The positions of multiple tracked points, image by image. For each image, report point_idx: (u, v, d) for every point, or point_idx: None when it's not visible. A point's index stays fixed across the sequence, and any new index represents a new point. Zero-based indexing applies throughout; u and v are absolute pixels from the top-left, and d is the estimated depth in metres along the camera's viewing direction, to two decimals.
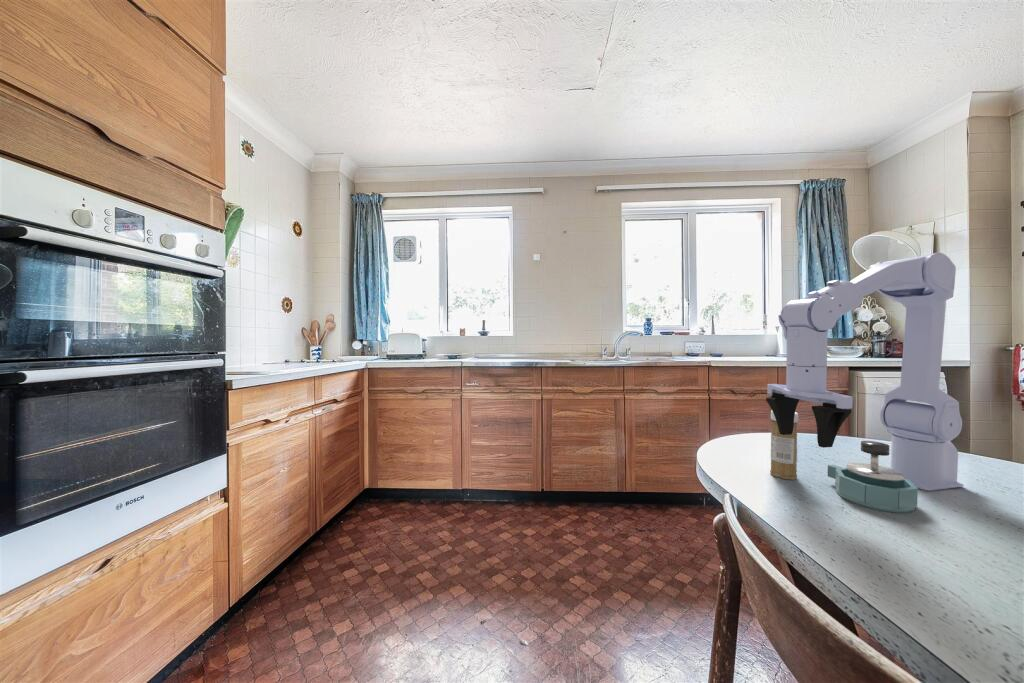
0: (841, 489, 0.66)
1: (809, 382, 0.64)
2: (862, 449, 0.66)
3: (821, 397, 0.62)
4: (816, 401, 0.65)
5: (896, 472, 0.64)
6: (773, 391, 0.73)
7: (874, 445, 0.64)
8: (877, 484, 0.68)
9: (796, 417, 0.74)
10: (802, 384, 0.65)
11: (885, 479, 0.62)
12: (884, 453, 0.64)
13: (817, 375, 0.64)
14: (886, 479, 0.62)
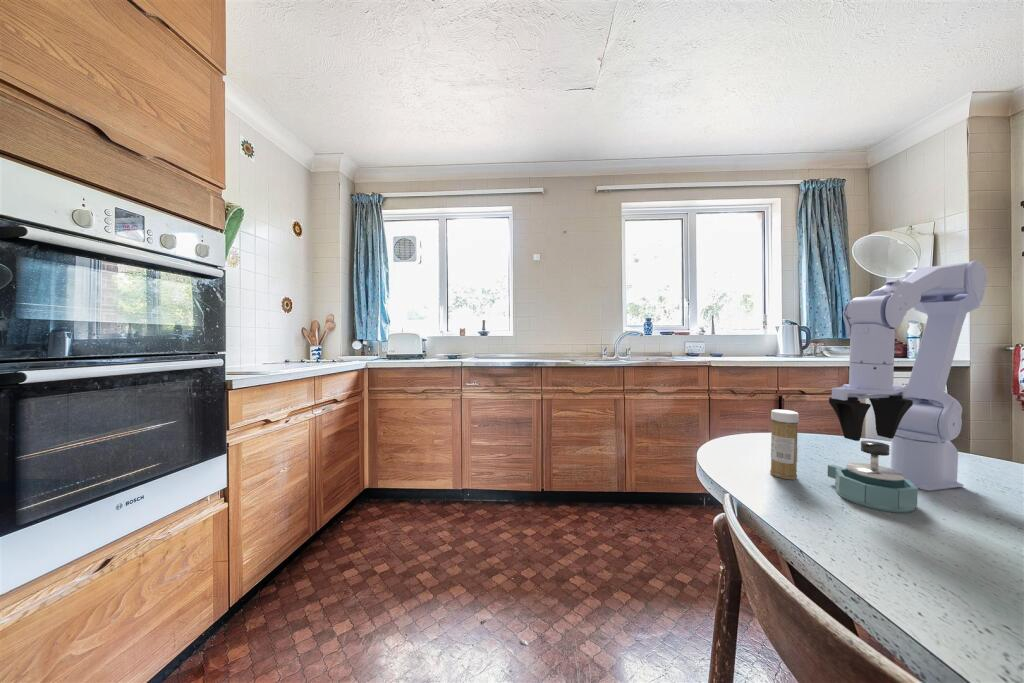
0: (841, 489, 0.66)
1: (850, 377, 0.68)
2: (862, 449, 0.66)
3: None
4: None
5: (896, 472, 0.64)
6: None
7: (874, 445, 0.64)
8: (877, 484, 0.68)
9: (797, 417, 0.74)
10: (849, 378, 0.68)
11: (885, 479, 0.62)
12: (884, 453, 0.64)
13: (854, 371, 0.67)
14: (886, 479, 0.62)
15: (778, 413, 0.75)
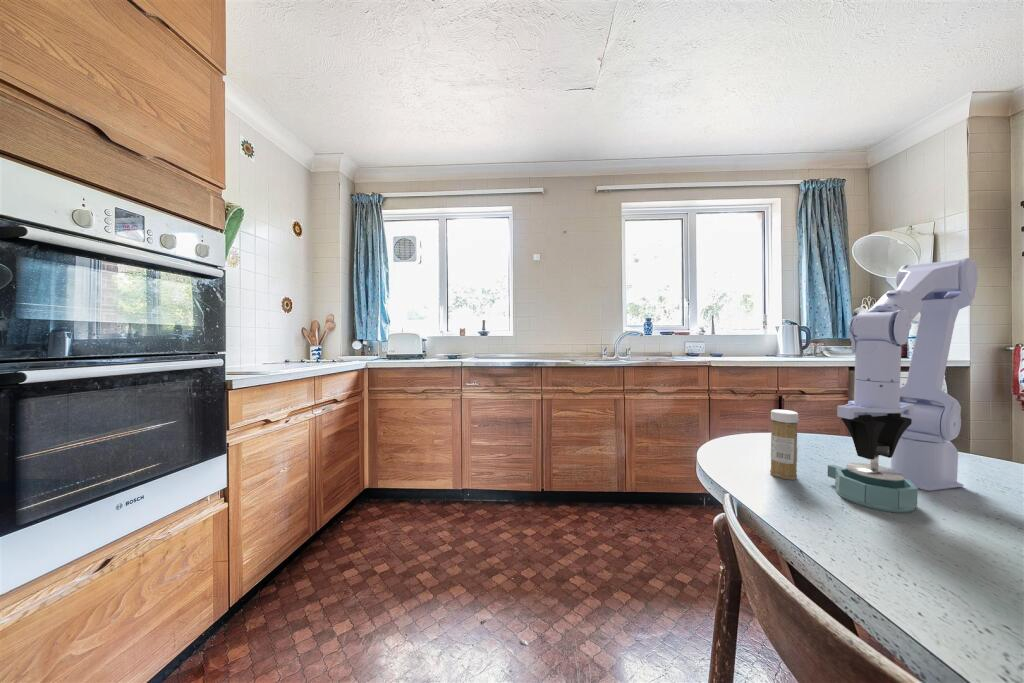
0: (841, 489, 0.66)
1: (855, 394, 0.66)
2: None
3: (846, 407, 0.66)
4: None
5: (896, 472, 0.64)
6: None
7: None
8: (877, 484, 0.68)
9: (796, 417, 0.74)
10: (854, 395, 0.67)
11: (885, 479, 0.62)
12: (884, 453, 0.64)
13: (860, 388, 0.65)
14: (886, 479, 0.62)
15: (778, 413, 0.75)
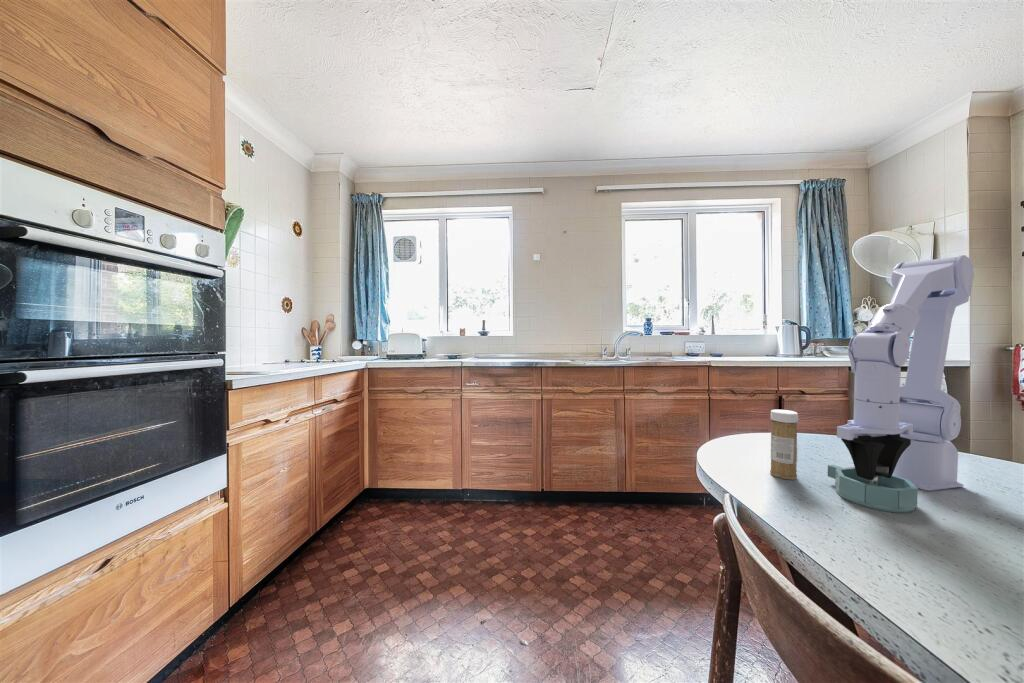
0: (841, 489, 0.66)
1: (854, 414, 0.66)
2: None
3: (845, 427, 0.66)
4: None
5: None
6: None
7: None
8: None
9: (796, 417, 0.74)
10: (854, 415, 0.67)
11: None
12: (883, 474, 0.64)
13: (859, 409, 0.65)
14: None
15: (777, 413, 0.75)
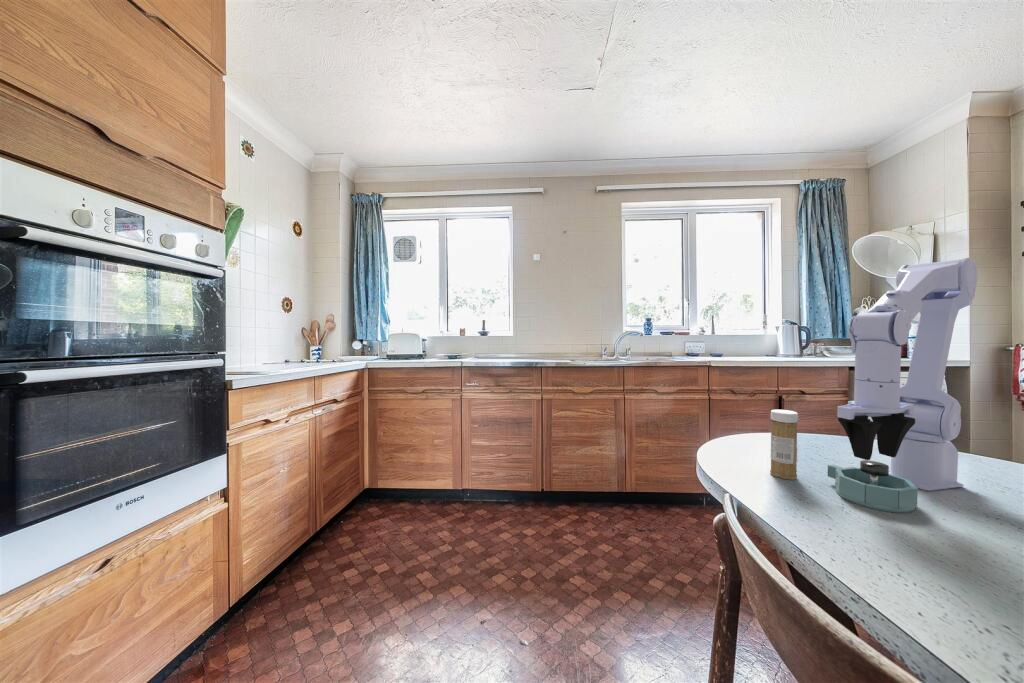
0: (841, 489, 0.66)
1: (855, 394, 0.66)
2: (861, 469, 0.66)
3: None
4: None
5: None
6: None
7: (873, 466, 0.65)
8: None
9: (796, 417, 0.74)
10: (854, 396, 0.67)
11: None
12: (883, 474, 0.64)
13: (860, 389, 0.65)
14: None
15: (777, 413, 0.75)
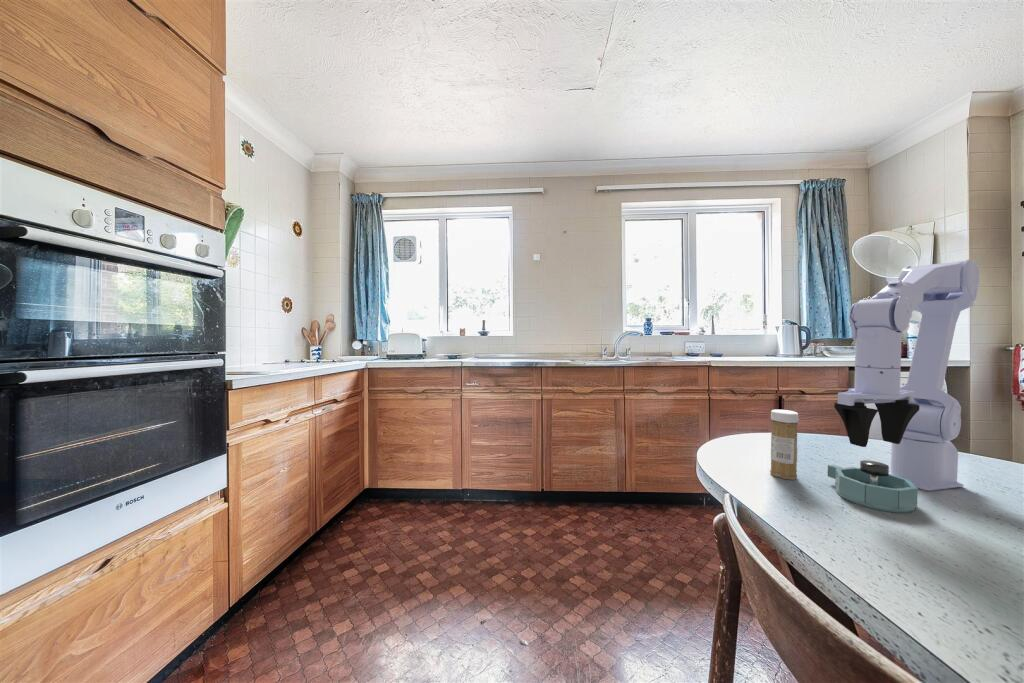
0: (841, 489, 0.66)
1: (855, 381, 0.66)
2: (861, 469, 0.66)
3: None
4: None
5: None
6: None
7: (873, 466, 0.65)
8: None
9: (796, 417, 0.74)
10: None
11: None
12: (883, 474, 0.64)
13: (860, 375, 0.65)
14: None
15: (778, 413, 0.75)
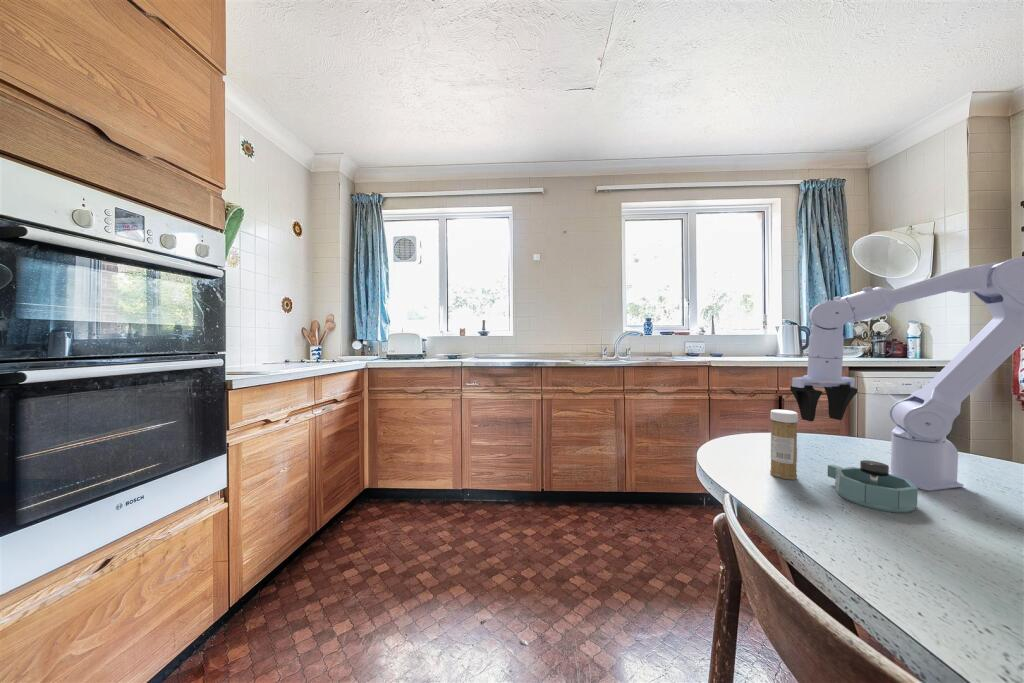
0: (841, 489, 0.66)
1: (808, 369, 0.82)
2: (861, 469, 0.66)
3: None
4: None
5: None
6: None
7: (873, 466, 0.65)
8: None
9: (796, 417, 0.74)
10: None
11: None
12: (883, 474, 0.64)
13: (811, 364, 0.80)
14: None
15: (777, 413, 0.75)
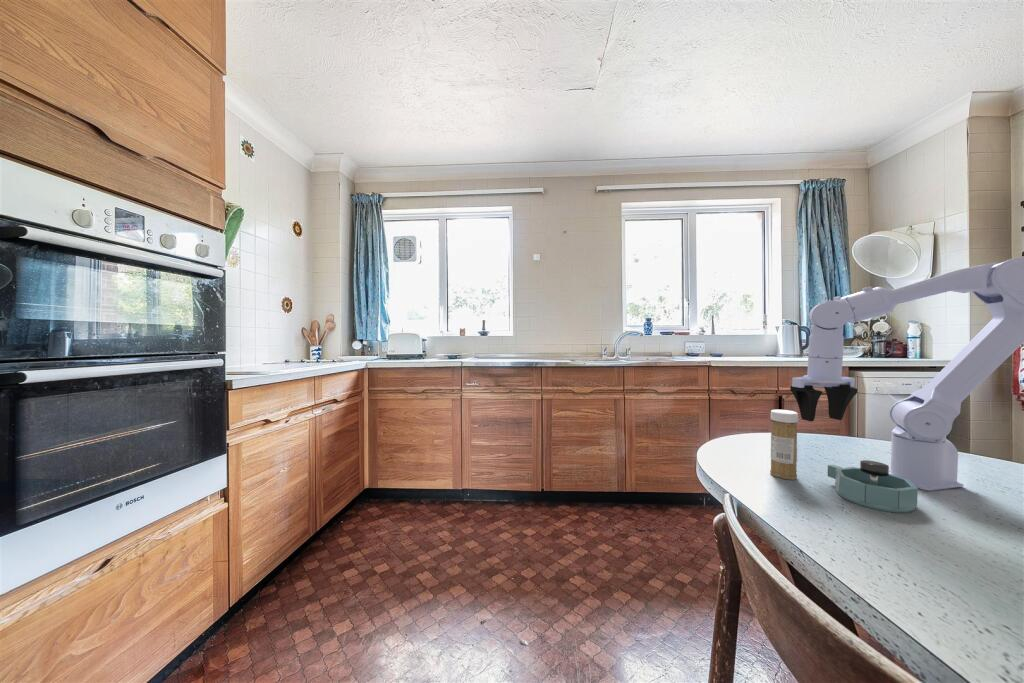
0: (841, 489, 0.66)
1: (808, 369, 0.82)
2: (861, 469, 0.66)
3: None
4: None
5: None
6: None
7: (873, 466, 0.65)
8: None
9: (796, 417, 0.74)
10: None
11: None
12: (883, 474, 0.64)
13: (811, 364, 0.80)
14: None
15: (777, 413, 0.75)
